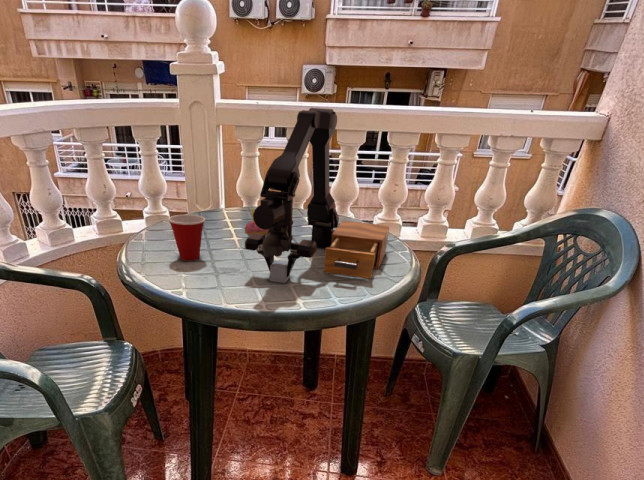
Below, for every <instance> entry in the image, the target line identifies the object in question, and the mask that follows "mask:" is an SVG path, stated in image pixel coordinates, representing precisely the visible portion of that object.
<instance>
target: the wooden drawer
mask: <svg viewBox="0 0 644 480" xmlns="http://www.w3.org/2000/svg"><path fill="white" fill-rule="evenodd" d="M378 244H379V242H372V241H364V240H355V239H347V238H339V237H337V238H336V239H335V241H334V242H333V244H332V245H331V246H330V247H327V248H325V252H324V253H325V254H324V265H323V273H327V274H336V275H342V276H349V277H357V278H363V279H364V278H365V279H372V277H373V266H374V264H375V262H376V258H377V251H378Z"/></svg>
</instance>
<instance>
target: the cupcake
mask: <svg viewBox="0 0 644 480" xmlns="http://www.w3.org/2000/svg"><path fill="white" fill-rule="evenodd" d="M250 207H251V209H250V210H251V217H252V220H251V221H249V222H247V224H246V225H245V226H244V234H246V235H247V238H248V237H249V236H250V235H252V234H253V233H255V234H263V235H265V237H266V235H267V233H268V230H269V229H267V230H263V229H260V228H259V227H258V226H257V225H256V224H255V222H254V219H253V214H254V211H255V209H254V207H253V205H251V206H250Z"/></svg>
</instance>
